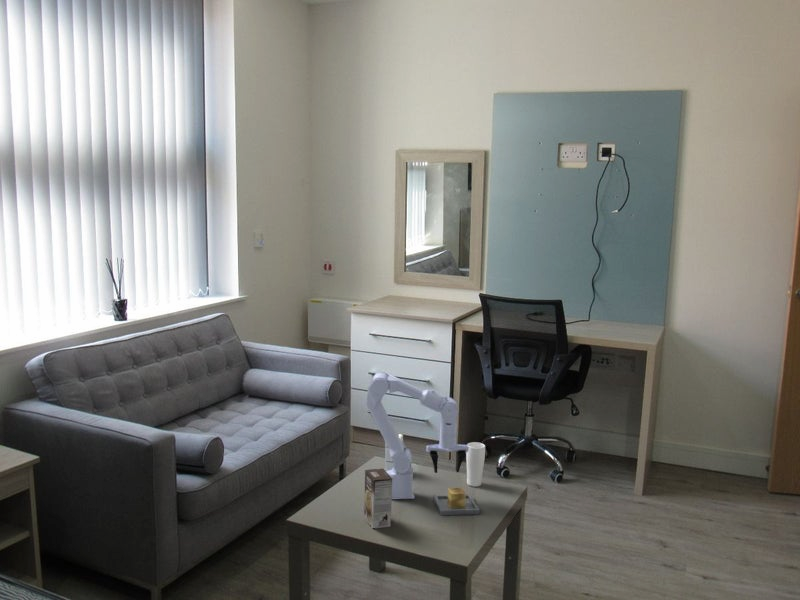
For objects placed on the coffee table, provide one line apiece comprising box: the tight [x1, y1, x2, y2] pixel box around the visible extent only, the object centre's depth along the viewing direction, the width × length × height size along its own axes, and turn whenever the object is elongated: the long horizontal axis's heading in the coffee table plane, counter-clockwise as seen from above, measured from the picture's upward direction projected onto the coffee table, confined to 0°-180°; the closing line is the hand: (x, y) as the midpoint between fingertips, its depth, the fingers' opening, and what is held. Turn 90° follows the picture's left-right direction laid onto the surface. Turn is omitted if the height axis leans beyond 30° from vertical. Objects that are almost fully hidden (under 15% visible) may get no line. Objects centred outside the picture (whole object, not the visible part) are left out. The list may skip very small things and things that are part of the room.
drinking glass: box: [465, 441, 486, 488], centre depth 261 cm, size 7×7×15 cm
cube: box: [447, 487, 467, 508], centre depth 242 cm, size 5×5×5 cm
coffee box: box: [363, 468, 393, 529], centre depth 228 cm, size 9×6×16 cm
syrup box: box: [384, 433, 404, 471], centre depth 271 cm, size 6×6×14 cm
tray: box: [433, 493, 481, 516], centre depth 242 cm, size 13×13×2 cm
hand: (446, 471), depth 249 cm, fingers open, 7 cm apart
